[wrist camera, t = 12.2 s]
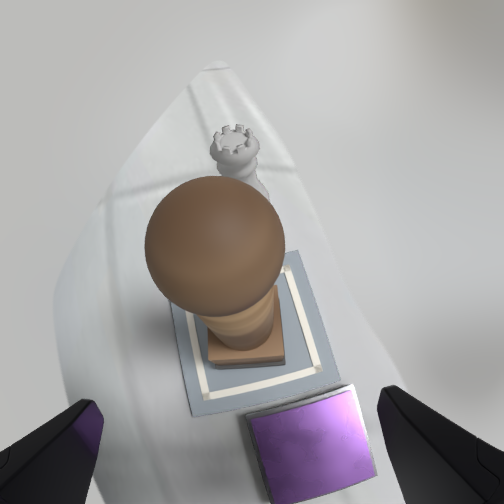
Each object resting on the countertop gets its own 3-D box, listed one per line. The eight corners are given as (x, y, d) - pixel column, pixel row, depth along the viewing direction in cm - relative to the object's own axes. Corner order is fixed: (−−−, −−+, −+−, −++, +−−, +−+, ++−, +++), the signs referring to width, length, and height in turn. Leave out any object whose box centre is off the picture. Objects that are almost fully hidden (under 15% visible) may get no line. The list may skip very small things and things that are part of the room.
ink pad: (372, 471, 14) (380, 477, 13) (272, 502, 14) (272, 511, 12) (348, 384, 17) (355, 383, 16) (246, 414, 17) (244, 416, 16)
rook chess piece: (207, 219, 24) (183, 149, 17) (235, 182, 26) (223, 110, 19) (254, 241, 23) (245, 170, 16) (280, 200, 25) (281, 126, 17)
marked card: (339, 380, 18) (341, 380, 17) (194, 416, 17) (192, 417, 17) (297, 252, 22) (297, 249, 22) (169, 284, 22) (167, 281, 21)
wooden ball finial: (285, 365, 18) (318, 292, 5) (218, 369, 18) (96, 306, 5) (279, 302, 20) (286, 131, 7) (215, 307, 20) (127, 153, 7)
